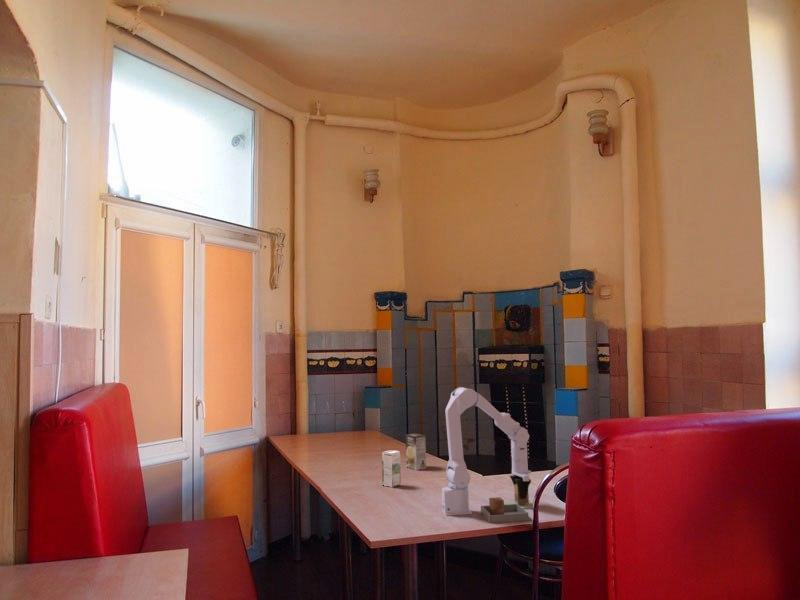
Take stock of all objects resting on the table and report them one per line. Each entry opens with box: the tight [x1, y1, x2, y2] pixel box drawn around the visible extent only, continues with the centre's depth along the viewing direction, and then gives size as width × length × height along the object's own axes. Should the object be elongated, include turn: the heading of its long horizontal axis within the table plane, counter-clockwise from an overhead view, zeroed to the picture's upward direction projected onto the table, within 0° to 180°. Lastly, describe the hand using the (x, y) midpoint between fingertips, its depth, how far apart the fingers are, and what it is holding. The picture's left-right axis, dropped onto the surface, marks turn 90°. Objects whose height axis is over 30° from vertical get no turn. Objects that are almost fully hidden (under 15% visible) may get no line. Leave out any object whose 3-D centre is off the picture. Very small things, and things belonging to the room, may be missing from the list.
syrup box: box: [381, 449, 402, 488], centre depth 252 cm, size 6×6×14 cm
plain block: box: [488, 496, 505, 515], centre depth 202 cm, size 4×4×6 cm
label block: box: [513, 484, 530, 504], centre depth 215 cm, size 4×4×6 cm
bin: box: [480, 503, 529, 524], centre depth 202 cm, size 13×12×2 cm
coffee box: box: [404, 433, 427, 471], centre depth 286 cm, size 9×6×16 cm
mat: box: [505, 499, 534, 510], centre depth 215 cm, size 9×9×1 cm
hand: (521, 497), depth 215 cm, fingers closed on label block, 4 cm apart
